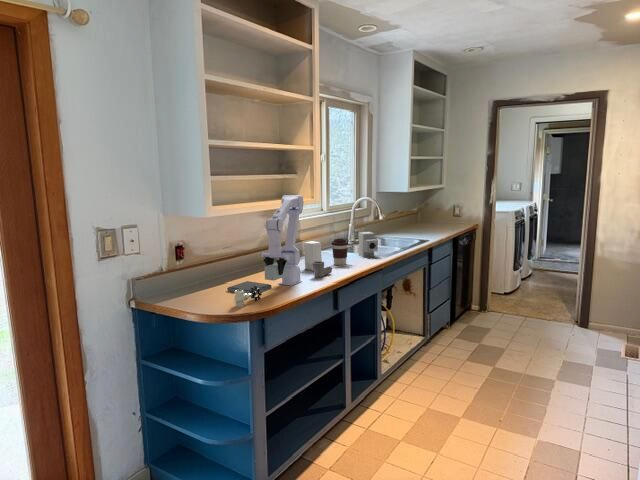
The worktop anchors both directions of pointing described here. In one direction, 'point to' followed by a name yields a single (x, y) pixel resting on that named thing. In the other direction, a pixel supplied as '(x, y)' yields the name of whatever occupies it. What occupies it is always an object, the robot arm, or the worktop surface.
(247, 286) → the shallow gray tray
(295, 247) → the robot arm
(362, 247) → the circuit breaker
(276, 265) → the block
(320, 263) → the pipe
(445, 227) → the worktop surface
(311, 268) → the skincare box
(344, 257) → the coffee cup
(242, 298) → the valve
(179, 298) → the worktop surface
